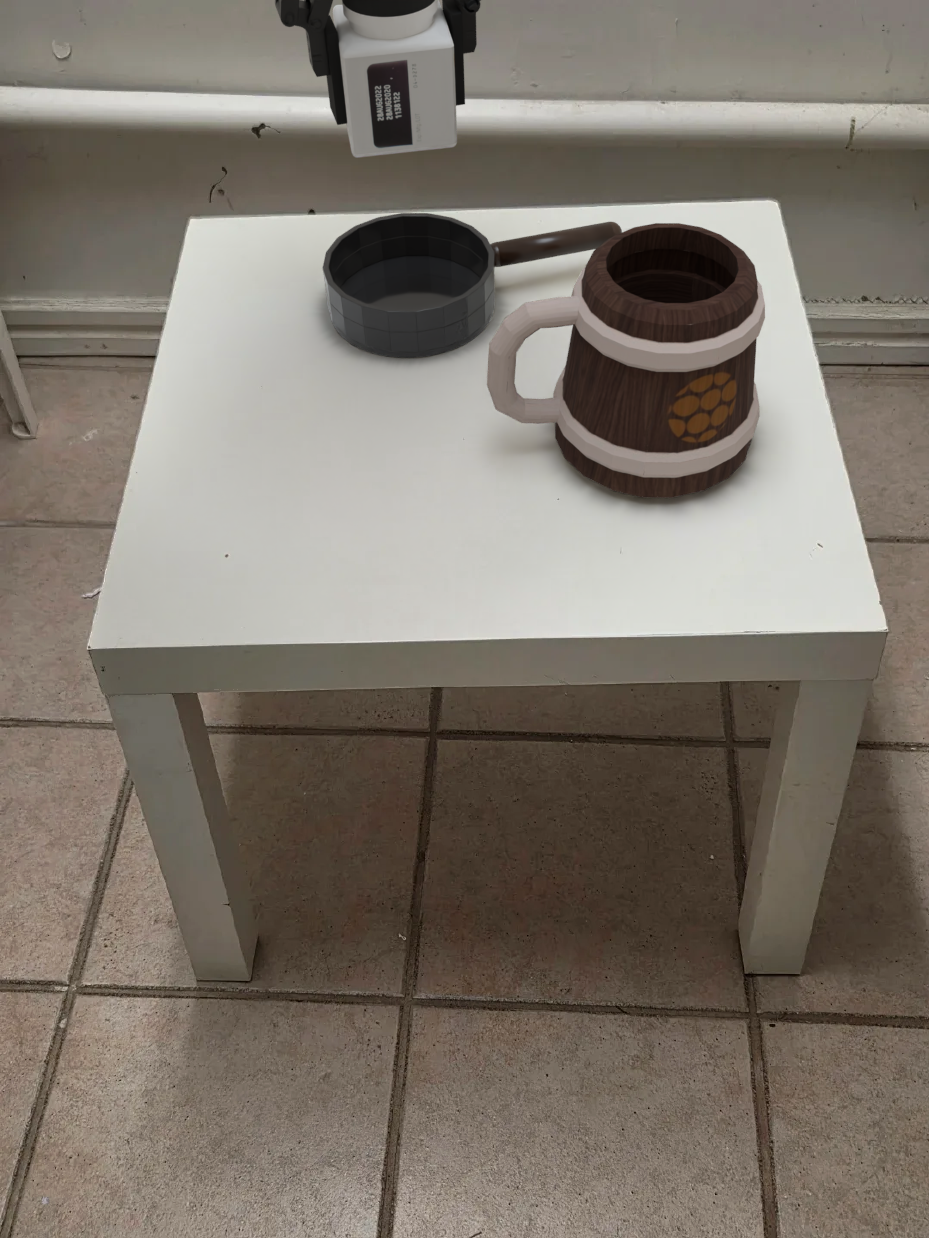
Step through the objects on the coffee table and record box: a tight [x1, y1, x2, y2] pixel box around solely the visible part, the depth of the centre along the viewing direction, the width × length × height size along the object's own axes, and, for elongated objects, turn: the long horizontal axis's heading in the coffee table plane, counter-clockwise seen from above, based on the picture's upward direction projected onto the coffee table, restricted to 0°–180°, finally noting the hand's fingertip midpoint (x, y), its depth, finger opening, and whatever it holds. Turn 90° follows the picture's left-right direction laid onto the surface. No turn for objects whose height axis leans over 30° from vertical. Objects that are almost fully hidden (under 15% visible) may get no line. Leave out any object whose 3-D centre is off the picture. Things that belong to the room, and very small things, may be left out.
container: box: [332, 0, 458, 158], centre depth 84 cm, size 8×8×13 cm
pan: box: [322, 212, 496, 359], centre depth 99 cm, size 14×14×4 cm
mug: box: [486, 222, 766, 499], centre depth 84 cm, size 20×15×15 cm
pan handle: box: [490, 221, 623, 268], centre depth 100 cm, size 12×2×2 cm, turn 105°
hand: (397, 105), depth 88 cm, fingers closed on container, 8 cm apart
